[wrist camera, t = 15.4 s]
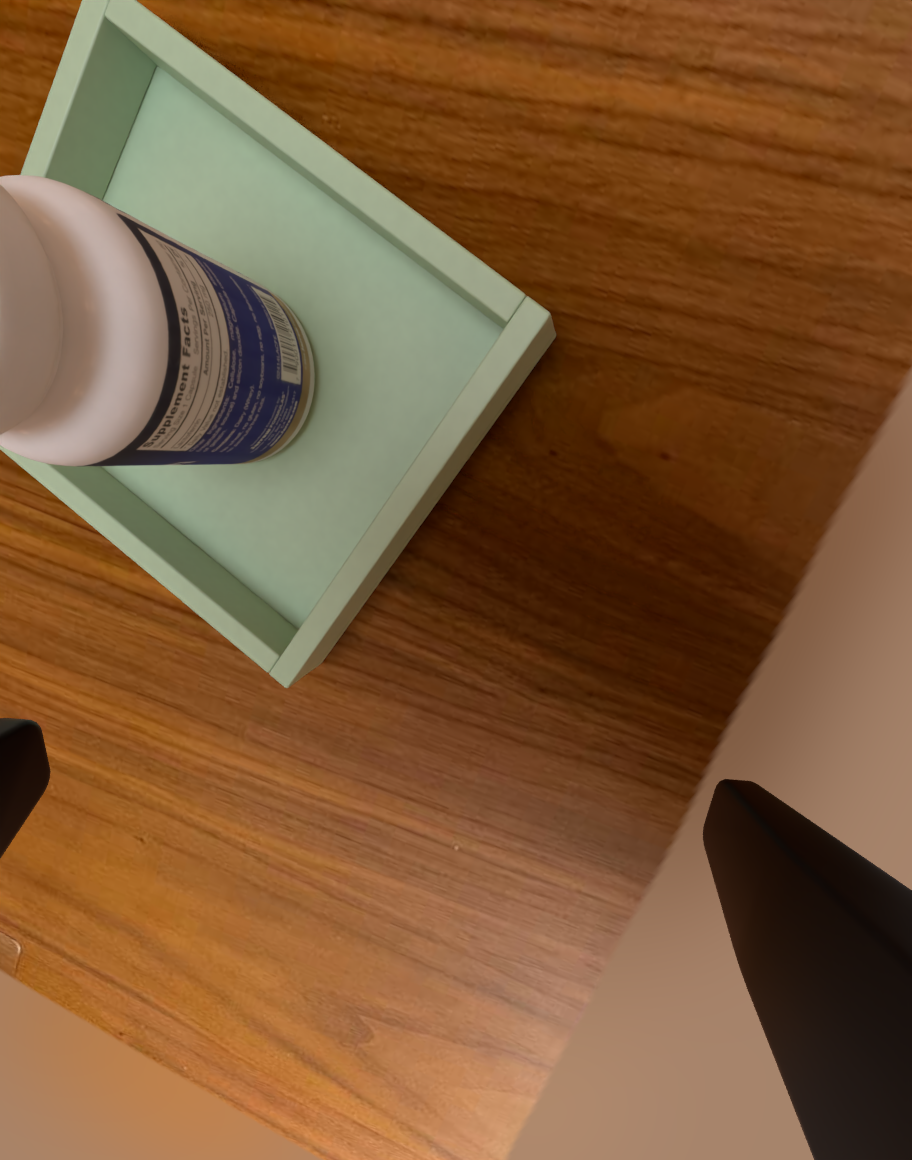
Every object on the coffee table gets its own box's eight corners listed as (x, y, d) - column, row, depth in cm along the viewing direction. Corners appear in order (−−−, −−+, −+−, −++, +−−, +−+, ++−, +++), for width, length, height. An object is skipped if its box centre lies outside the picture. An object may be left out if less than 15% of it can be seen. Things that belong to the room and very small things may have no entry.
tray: (557, 335, 16) (551, 313, 14) (321, 663, 20) (286, 690, 18) (161, 36, 17) (92, -33, 15) (12, 407, 21) (-61, 399, 19)
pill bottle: (147, 414, 19) (-279, 366, 10) (202, 250, 18) (-245, 4, 8) (281, 496, 19) (-34, 529, 9) (351, 335, 17) (55, 176, 8)
